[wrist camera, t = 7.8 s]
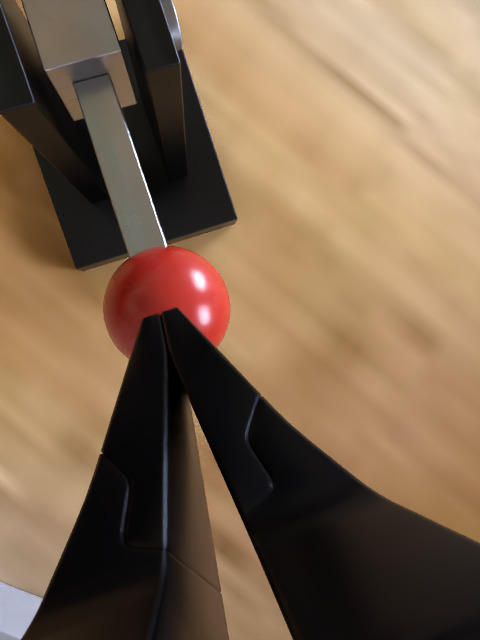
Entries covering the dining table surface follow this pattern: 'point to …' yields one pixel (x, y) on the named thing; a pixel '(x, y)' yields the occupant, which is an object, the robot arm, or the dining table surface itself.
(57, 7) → the lever
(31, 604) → the hob
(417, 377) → the dining table surface
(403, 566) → the robot arm
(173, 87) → the black square stand
